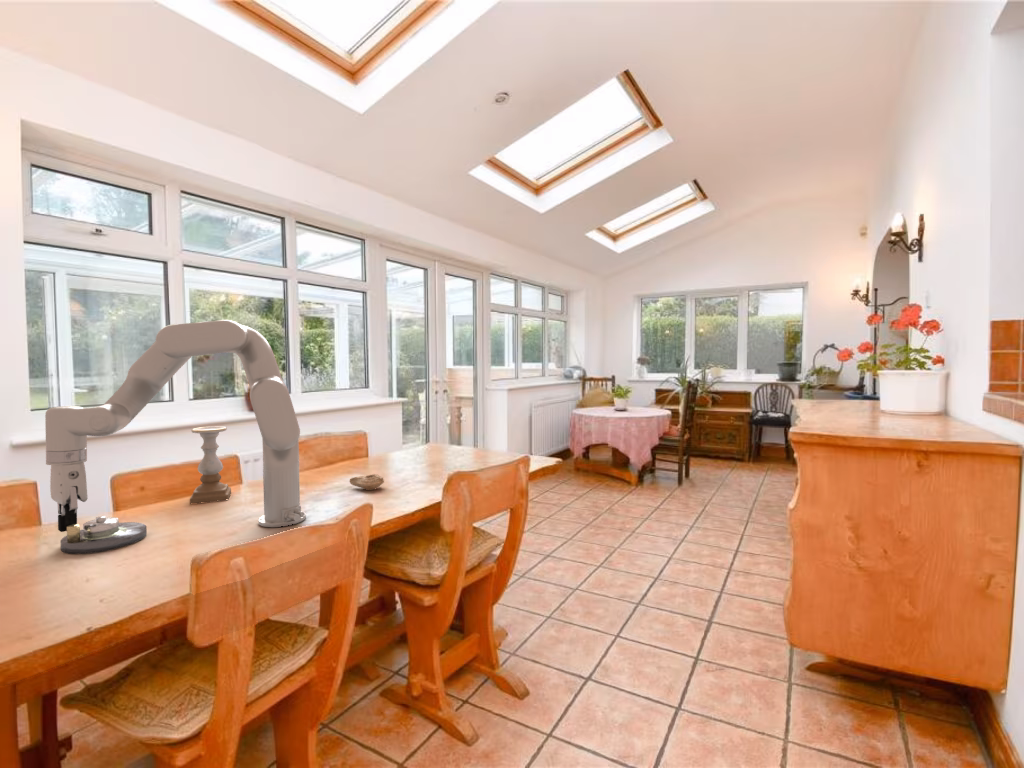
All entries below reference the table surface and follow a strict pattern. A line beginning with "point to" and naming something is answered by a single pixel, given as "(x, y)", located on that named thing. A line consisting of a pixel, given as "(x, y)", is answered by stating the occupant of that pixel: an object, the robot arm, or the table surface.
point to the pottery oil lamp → (367, 481)
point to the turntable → (101, 539)
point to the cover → (101, 527)
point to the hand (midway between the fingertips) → (67, 529)
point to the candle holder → (210, 468)
